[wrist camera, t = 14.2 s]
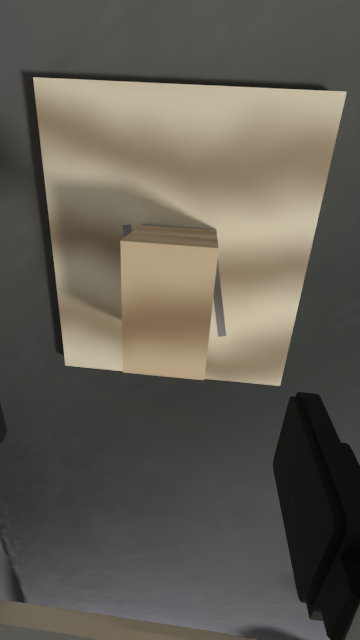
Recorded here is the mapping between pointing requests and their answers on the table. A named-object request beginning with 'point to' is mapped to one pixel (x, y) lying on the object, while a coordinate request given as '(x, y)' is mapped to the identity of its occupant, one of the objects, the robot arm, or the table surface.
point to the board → (185, 204)
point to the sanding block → (167, 299)
